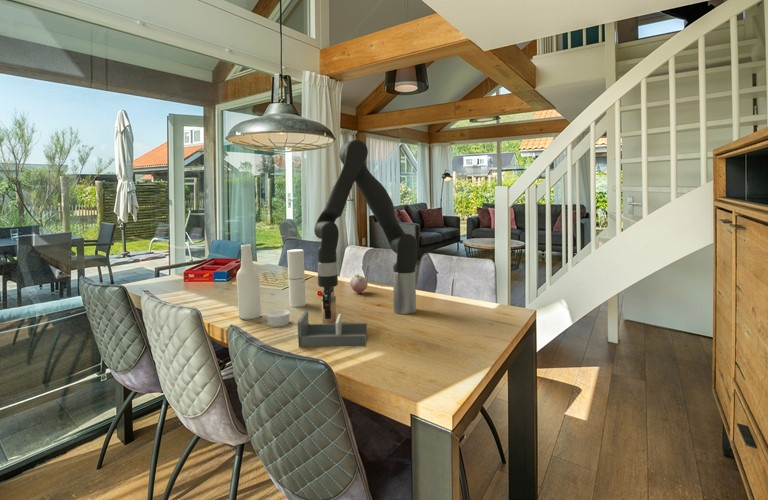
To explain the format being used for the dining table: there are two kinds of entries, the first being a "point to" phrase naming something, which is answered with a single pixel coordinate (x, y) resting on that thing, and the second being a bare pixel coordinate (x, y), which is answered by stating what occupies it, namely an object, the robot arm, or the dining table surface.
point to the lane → (330, 334)
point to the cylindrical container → (296, 277)
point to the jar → (333, 312)
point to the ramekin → (278, 318)
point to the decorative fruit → (358, 283)
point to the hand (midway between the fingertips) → (329, 316)
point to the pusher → (338, 325)
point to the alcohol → (248, 286)
